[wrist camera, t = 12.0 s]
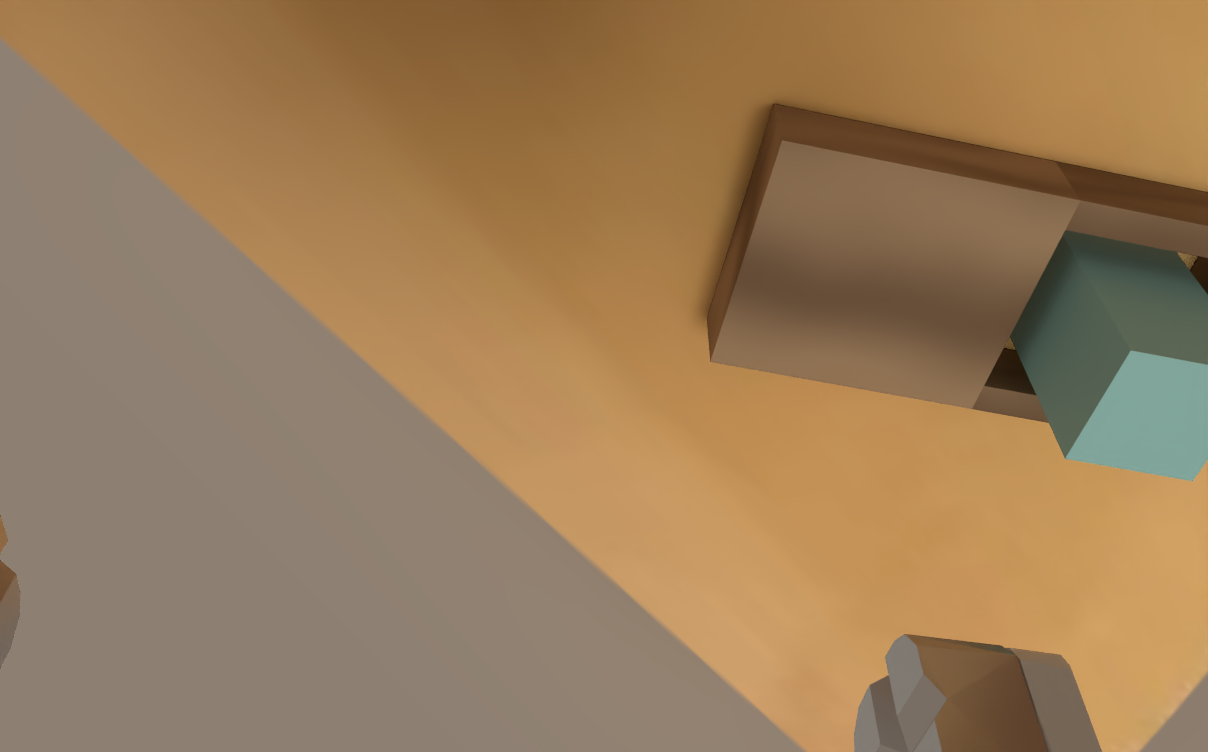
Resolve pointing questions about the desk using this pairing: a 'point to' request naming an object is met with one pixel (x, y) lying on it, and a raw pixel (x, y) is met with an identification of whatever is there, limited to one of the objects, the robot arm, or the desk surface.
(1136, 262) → the teal square prism
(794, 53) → the desk surface
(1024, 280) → the brown frame
